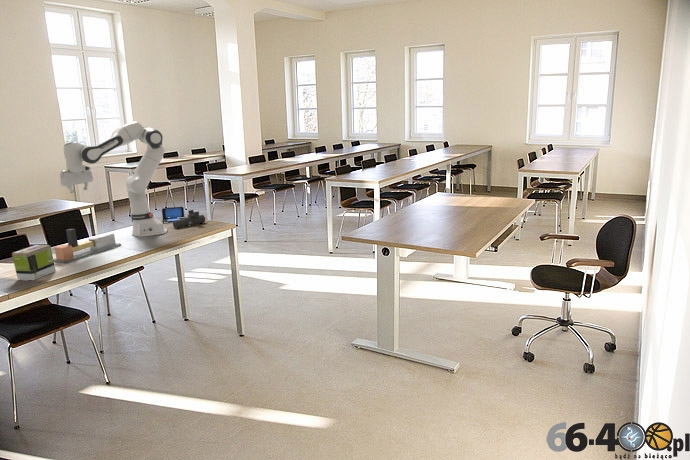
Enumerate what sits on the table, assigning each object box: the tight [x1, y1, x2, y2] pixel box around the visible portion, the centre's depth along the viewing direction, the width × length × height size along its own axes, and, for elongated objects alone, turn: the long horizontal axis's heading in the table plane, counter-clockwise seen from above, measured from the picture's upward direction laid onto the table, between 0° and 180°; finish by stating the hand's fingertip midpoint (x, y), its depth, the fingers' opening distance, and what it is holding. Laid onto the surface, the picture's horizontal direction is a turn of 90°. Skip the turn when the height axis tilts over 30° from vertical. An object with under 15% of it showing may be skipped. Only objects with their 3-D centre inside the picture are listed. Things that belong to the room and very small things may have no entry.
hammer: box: [65, 228, 95, 253], centre depth 303 cm, size 25×4×13 cm, turn 155°
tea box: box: [11, 244, 57, 282], centre depth 268 cm, size 15×10×15 cm, turn 163°
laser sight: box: [172, 209, 206, 229], centre depth 368 cm, size 10×22×10 cm, turn 130°
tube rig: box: [53, 232, 122, 264], centre depth 308 cm, size 38×12×8 cm, turn 155°
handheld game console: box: [161, 206, 185, 224], centre depth 388 cm, size 16×13×9 cm
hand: (79, 191), depth 322 cm, fingers open, 8 cm apart
